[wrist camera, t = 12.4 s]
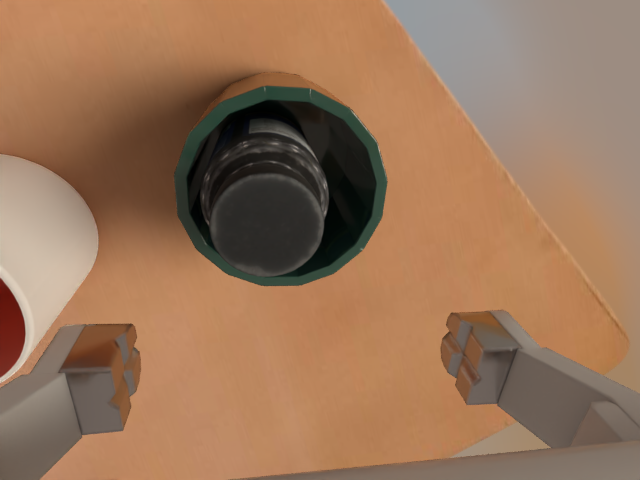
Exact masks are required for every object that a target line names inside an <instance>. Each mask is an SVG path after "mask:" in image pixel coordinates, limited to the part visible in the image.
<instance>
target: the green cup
mask: <svg viewBox="0 0 640 480" xmlns="http://www.w3.org/2000/svg"><path fill="white" fill-rule="evenodd" d="M253 111H272V112H275V113H277V114H280V115H282V116H284V117H286V118H288V119H290V120H291V121H293V122H294V123H295V124H296V125H297V126H298V127H299V128H300V129H301V130H302V132H303V134H304V135H305V137H306V139H307V141H308V143H309V145H310V147H311V149H312V150H313V153H314V155H315V157H316V159H317V160H318V162H319V164H320V166H321V168H322V170H323V171H324V173H325V176H326V181H327V185H328V188H329V205H328V211H327V214H326V216H325V219H324V231H323V235H322V240H321V243H320V245H319V247H318V248H317V250H316V252H315V253H314V254H313V256H312V257H311V258H310V259H309V260H308V261H307V262H306V263H304V264H303V265H302V266H300V267H298V268H297V269H296V270H294V271H292V272H289V273H286V274H283V275H278V276H274V277H261V276H254V275H249V274H247V273H244V272H242V271H239V270H237V269H235V268H233V267H232V266H231V265H229V264H228V263H227V262H226V261H225V260H224V259H223V258H222V257H221V256H220V255H219V253H218V252H217V250H216V249H215V247H214V244H213V242H212V239H211V236H210V231H209V226H208V224H207V222H206V221H205V218H204V215H203V213H202V208H201V201H200V191H201V182H202V178H203V175H204V173H205V171H206V168H207V165H208V163H209V160H210V158H211V155H212V153H213V150H214V147H215V145H216V142H217V140H218V138H219V136H220V134H221V132H222V131H223V129H224V128H225V127H226V126H227V125H228V124H229V123H230V122H231V121H232V120H234V119H235V118H237V117H239V116H241V115H243V114H248V113H251V112H253ZM387 182H388V181H387V175H386V172H385V168H384V164H383V160H382V156H381V153H380V149H379V145H378V142H377V140H376V139H375V138H374V137H373V135H372V134H371V133H370V132H369V130H368V129H367V128H366V127H365V125H364V124H363V123H362V122H361V120H360V119H359V118H358V117H357V115H356V114H355V113H354V112H353V110H352V109H350V108H349V107H348V106H347V105H345V104H344V103H343V102H342V101H340V100H339V99H338V98H336V97H335V96H334V95H333V94H331V93H330V92H329V91H327V90H326V89H324V88H322V87H320V86H318V85H317V84H315V83H313V82H311V81H309V80H307V79H305V78H303V77H301V76H299V75H296V74H287V73H268V72H263V73H259V74H257V75H253V76H250V77H247V78H244V79H242V80H240V81H238V82H235V83H233V84H231V85H229V86H228V87H227V88H226V89H225V90H224V91H223V92H222V93H221V94H220V95H219V96H218V97H217V99H216V100H215V101H214V102H213V103H212V104H211V105H210V106H209V107H208V108H207V109H206V110H205V112H204V113H203V115H202V116H201V117H200V119H199V120H198V121H197V123H196V124H195V126H194V127H193V128H192V130H191V131H190V132H189V134H188V136H187V139H186V141H185V144H184V147H183V150H182V153H181V155H180V158H179V161H178V164H177V167H176V169H175V172H174V183H175V194H176V205H177V214H178V217H179V219H180V221H181V223H182V225H183V226H184V228H185V230H186V232H187V234H188V235H189V237H190V239H191V241H192V243H193V244H194V246H195V248H196V249H197V250H198V251H199V252H200V253H201V254H202V255H204V256H205V257H206V258H207V259H209V260H210V261H211V262H212V263H214V264H215V265H216V266H217V267H219V268H220V269H221V270H222V271H224V272H225V273H226V274H228V275H231V276H234V277H237V278H240V279H243V280H246V281H249V282H252V283H255V284H258V285H261V286H299V285H303V284H306V283H309V282H312V281H315V280H317V279H320V278H323V277H326V276H329V275H331V274H334V273H335V272H337V271H338V270H339V269H340V268H342V267H343V266H344V265H345V264H347V263H348V262H349V261H350V260H351V259H353V258H354V257H355V256H356V255H358V254H359V253H360V252H361V251H362V250H363V249H364V248H365V246H366V244H367V243H368V241H369V239H370V238H371V236H372V234H373V232H374V231H375V229H376V227H377V226H378V224H379V222H380V221H381V218H382V215H383V208H384V202H385V195H386V188H387Z"/></svg>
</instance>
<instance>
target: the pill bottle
mask: <svg viewBox="0 0 640 480" xmlns="http://www.w3.org/2000/svg"><path fill="white" fill-rule="evenodd" d="M200 201H201V208H202V213H203V215H204V218H205V221H206V222H207V224H208V226H209V231H210V236H211V239H212V242H213V244H214V247H215V249H216V250H217V252H218V253H219V255H220V256H221V257H222V258H223V259H224V260H225V261H226V262H227V263H228V264H229V265H231V266H232V267H233V268H235V269H237V270H239V271H242V272H244V273H247V274H249V275H254V276H261V277H274V276H278V275H283V274H286V273H289V272H292V271H294V270H296V269H297V268H298V267H300V266H302V265H303V264H304V263H306V262H307V261H308V260H309V259H310V258H311V257H312V256H313V254H314V253H315V252H316V250H317V248H318V247H319V245H320V243H321V240H322V235H323V231H324V219H325V216H326V214H327V211H328V205H329V188H328V185H327V181H326V176H325V173H324V171H323V170H322V168H321V166H320V164H319V162H318V160H317V159H316V157H315V155H314V153H313V150H312V149H311V147H310V145H309V143H308V141H307V139H306V137H305V135H304V134H303V132H302V130H301V129H300V128H299V127H298V126H297V125H296V124H295V123H294V122H293V121H291V120H290V119H288V118H286V117H284V116H282V115H280V114H277V113H275V112H272V111H253V112H251V113H248V114H243V115H241V116H239V117H237V118H235V119H234V120H232V121H231V122H230V123H229V124H228V125H227V126H226V127H225V128H224V129H223V131H222V132H221V134H220V136H219V138H218V140H217V142H216V145H215V147H214V150H213V153H212V155H211V158H210V160H209V163H208V165H207V168H206V171H205V173H204V175H203V178H202V182H201V191H200Z"/></svg>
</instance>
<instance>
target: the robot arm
mask: <svg viewBox="0 0 640 480" xmlns="http://www.w3.org/2000/svg"><path fill="white" fill-rule="evenodd" d="M446 326H447V328H448V329H449V332H448V333H447V334H446V335H445V336H444V337H443V338H442V343H441V359H442V362H443V365H444V367H445V369H446V370H447V372H448V373H449V374H451V375H452V376H454V377H455V378H457V380H456V384H455V386H456V388H457V389H458V391H459V393H460V394H461V396H462V398H463V399H464V401H465V403H466V405H479V404H497V405H498V406H499V407H500V408H501V409H503V410H504V411H505V412H506V413H508V414H509V415H510V416H512V417H513V418H514V419H515V420H517V421H518V422H519V423H520V424H522V425H523V426H524V427H526V428H527V429H528V430H529V431H531V432H532V433H533V434H534V435H536V436H537V437H538V438H539V439H541V440H542V441H543V442H545V443H546V444H547V445H548V446H550V447H551V448H549V449H538V450H529V451H518V452H507V453H497V454H487V455H476V456H466V457H456V458H445V459H435V460H425V461H414V462H404V463H393V464H383V465H373V466H363V467H353V468H342V469H332V470H322V471H312V472H301V473H291V474H281V475H271V476H261V477H250V478H240V479H230V480H640V393H638V392H636V391H633V390H631V389H629V388H627V387H625V386H623V385H621V384H619V383H617V382H615V381H613V380H611V379H609V378H607V377H605V376H603V375H601V374H599V373H597V372H595V371H593V370H591V369H589V368H587V367H585V366H583V365H581V364H579V363H577V362H575V361H573V360H571V359H569V358H567V357H565V356H562V355H560V354H558V353H556V352H554V351H552V350H550V349H548V348H541V347H540V346H539V345H538V344H537V343H536V342H535V341H534V340H533V339H532V337H531V336H530V335H529V334H528V333H527V332H526V331H525V330H524V329H523V328H522V327H521V326H520V325H519V324H518V323H517V322H516V320H515V319H514V318H513V317H512V316H511V315H510V314H509V313H508V312H506V311H504V310H491V311H485V312H459V313H451V314H450V315H449V317H448V319H447V323H446ZM136 339H137V334H136V329H135V326H134V325H133V324H88V325H86V324H82V325H65V326H63V327H61V328H60V329H59V331H58V332H57V334H56V335H55V337H54V338H53V340H52V341H51V343H50V344H49V346H48V347H47V349H46V350H45V352H44V353H43V355H42V356H41V358H40V359H39V360H38V362H37V363H36V365H35V366H34V368H33V369H32V371H31V372H30V374H29V375H21V376H19V377H17V378H16V379H14V380H12V381H11V382H9V383H8V384H6V385H4V386H3V387H1V388H0V480H39V479H40V478H41V477H42V476H43V475H44V474H46V473H47V472H48V471H49V470H50V469H51V468H52V467H53V466H54V465H55V464H56V463H57V462H58V461H59V460H60V459H61V458H62V457H63V456H64V455H65V454H66V453H67V452H68V451H69V450H70V449H71V448H72V447H73V446H74V445H75V444H76V443H77V442H78V441H79V440H80V439H81V438H82V435H87V434H97V433H107V432H117V431H123V430H124V427H125V424H126V421H127V418H128V415H129V412H130V409H131V403H130V396H131V395H133V394H134V393H135V392H136V390H137V387H138V384H139V379H140V372H141V359H140V352H139V351H138V350H137V349H136V348H134V344H135V342H136Z"/></svg>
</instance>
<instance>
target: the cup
mask: <svg viewBox="0 0 640 480" xmlns="http://www.w3.org/2000/svg"><path fill="white" fill-rule="evenodd" d="M98 246H99V238H98V230H97V226H96V222H95V219H94V217H93V214H92V213H91V211H90V209H89V207H88V205H87V204H86V202H85V201H84V199H83V198H82V197H81V195H80V194H79V193H78V192H77V191H76V190H75V189H74V188H73V187H72V186H71V185H70V184H69V183H68V182H67V181H65V180H64V179H63V178H61V177H60V176H59V175H57V174H56V173H54V172H52V171H51V170H49V169H47V168H45V167H43V166H41V165H39V164H37V163H34V162H32V161H29V160H26V159H23V158H20V157H15V156H11V155H5V154H0V383H2V382H3V381H5V380H6V379H8V378H9V377H11V376H12V375H13V374H14V373H15V372H17V371H18V370H19V368H20V367H21V366H22V365H23V364H24V363H25V361H26V360H27V358H28V357H29V356H30V354H31V353H32V351H33V350H34V349H35V347H36V346H37V345H38V343H39V342H40V340H41V339H42V338H43V336H44V335H45V333H46V332H47V331H48V329H49V328H50V326H51V325H52V324H53V322H54V321H55V320H56V318H57V317H58V315H59V314H60V313H61V311H62V310H63V308H64V307H65V306H66V304H67V303H68V301H69V300H70V299H71V297H72V296H73V295H74V293H75V292H76V290H77V289H78V288H79V286H80V285H81V283H82V282H83V281H84V279H85V278H86V276H87V275H88V274H89V272H90V270H91V269H92V267H93V265H94V262H95V260H96V257H97V253H98Z"/></svg>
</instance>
